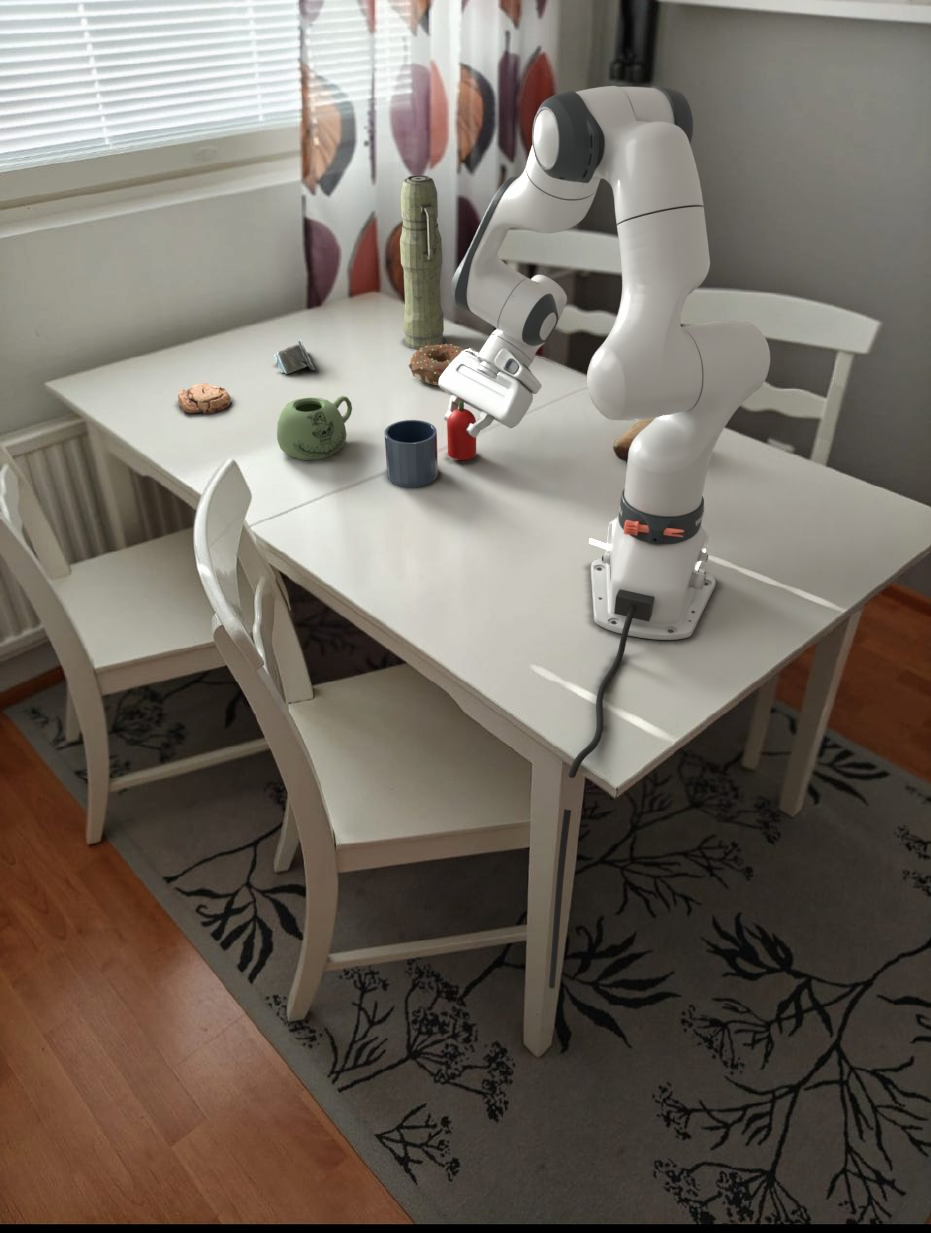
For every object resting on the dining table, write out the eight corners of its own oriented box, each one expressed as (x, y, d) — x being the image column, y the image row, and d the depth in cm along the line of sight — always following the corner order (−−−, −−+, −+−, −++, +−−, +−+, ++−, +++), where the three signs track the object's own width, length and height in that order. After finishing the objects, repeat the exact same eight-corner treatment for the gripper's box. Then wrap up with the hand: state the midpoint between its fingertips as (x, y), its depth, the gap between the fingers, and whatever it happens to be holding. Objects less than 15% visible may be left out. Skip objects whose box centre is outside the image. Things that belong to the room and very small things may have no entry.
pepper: (472, 461, 180) (471, 409, 173) (444, 458, 181) (443, 406, 174) (479, 448, 184) (479, 396, 177) (452, 445, 185) (451, 393, 178)
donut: (412, 362, 217) (411, 340, 213) (475, 362, 216) (475, 340, 213) (406, 390, 205) (405, 367, 202) (473, 391, 205) (473, 368, 202)
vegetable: (645, 469, 172) (634, 411, 170) (606, 473, 182) (596, 418, 180) (712, 450, 179) (703, 395, 177) (671, 455, 189) (662, 402, 187)
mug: (305, 471, 179) (300, 427, 173) (264, 447, 186) (258, 404, 181) (374, 442, 187) (371, 399, 182) (332, 420, 195) (328, 378, 189)
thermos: (427, 329, 231) (421, 168, 210) (454, 345, 223) (452, 180, 202) (394, 337, 227) (385, 174, 206) (421, 354, 220) (414, 187, 198)
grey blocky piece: (273, 356, 220) (263, 335, 208) (303, 344, 221) (294, 322, 209) (290, 394, 219) (281, 375, 208) (320, 382, 220) (312, 362, 208)
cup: (429, 490, 173) (428, 446, 168) (380, 484, 175) (377, 440, 170) (443, 465, 180) (442, 422, 175) (396, 459, 182) (393, 417, 177)
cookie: (226, 414, 197) (223, 400, 195) (172, 414, 197) (169, 400, 195) (236, 393, 205) (234, 379, 203) (185, 393, 205) (182, 379, 203)
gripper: (456, 336, 182) (415, 400, 183) (529, 372, 169) (483, 441, 170) (476, 353, 186) (435, 416, 188) (548, 389, 173) (503, 456, 175)
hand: (459, 428), depth 179 cm, fingers closed on pepper, 5 cm apart
